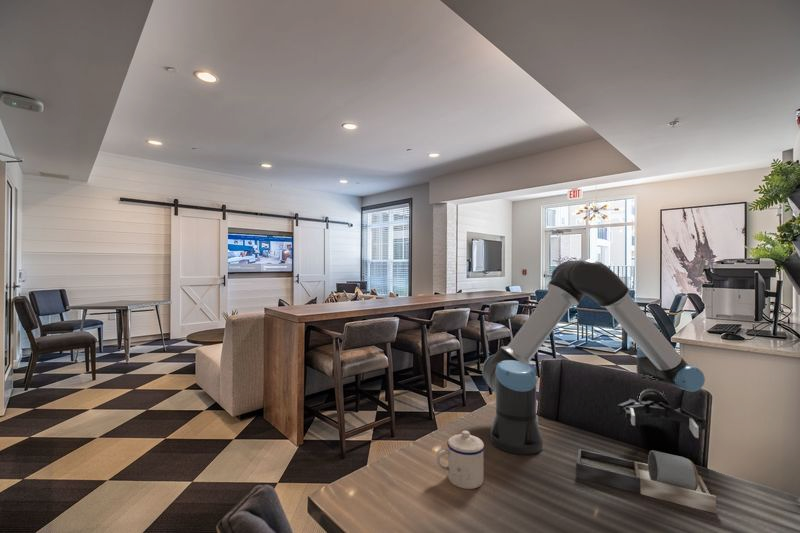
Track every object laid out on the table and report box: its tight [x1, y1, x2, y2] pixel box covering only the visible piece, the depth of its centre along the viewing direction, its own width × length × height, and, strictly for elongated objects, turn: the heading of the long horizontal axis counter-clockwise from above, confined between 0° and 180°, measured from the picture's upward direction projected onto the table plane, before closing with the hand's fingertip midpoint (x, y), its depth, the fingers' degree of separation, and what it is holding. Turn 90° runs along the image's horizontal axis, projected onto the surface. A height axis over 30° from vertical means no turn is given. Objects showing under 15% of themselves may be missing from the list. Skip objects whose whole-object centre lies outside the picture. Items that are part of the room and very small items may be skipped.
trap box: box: [575, 448, 717, 514], centre depth 87 cm, size 27×13×4 cm, turn 60°
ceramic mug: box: [647, 449, 699, 491], centre depth 84 cm, size 11×8×8 cm
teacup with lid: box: [435, 430, 485, 490], centre depth 87 cm, size 12×9×12 cm
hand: (663, 426), depth 93 cm, fingers open, 13 cm apart
